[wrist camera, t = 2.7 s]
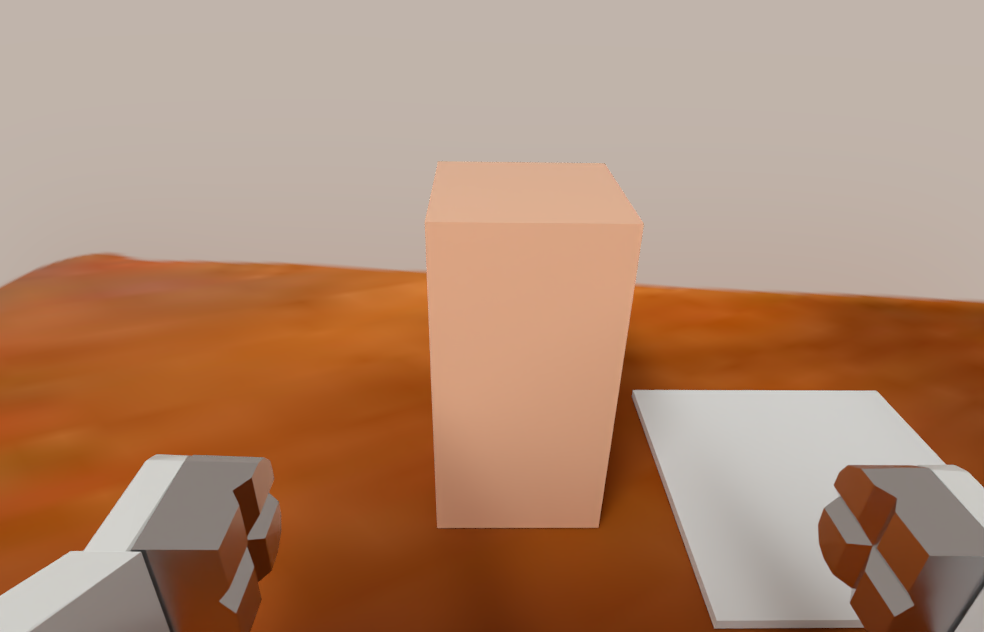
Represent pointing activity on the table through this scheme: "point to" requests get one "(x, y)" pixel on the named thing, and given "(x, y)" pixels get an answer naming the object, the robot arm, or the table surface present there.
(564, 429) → the peach rectangular block
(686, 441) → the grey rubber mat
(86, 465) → the table surface
